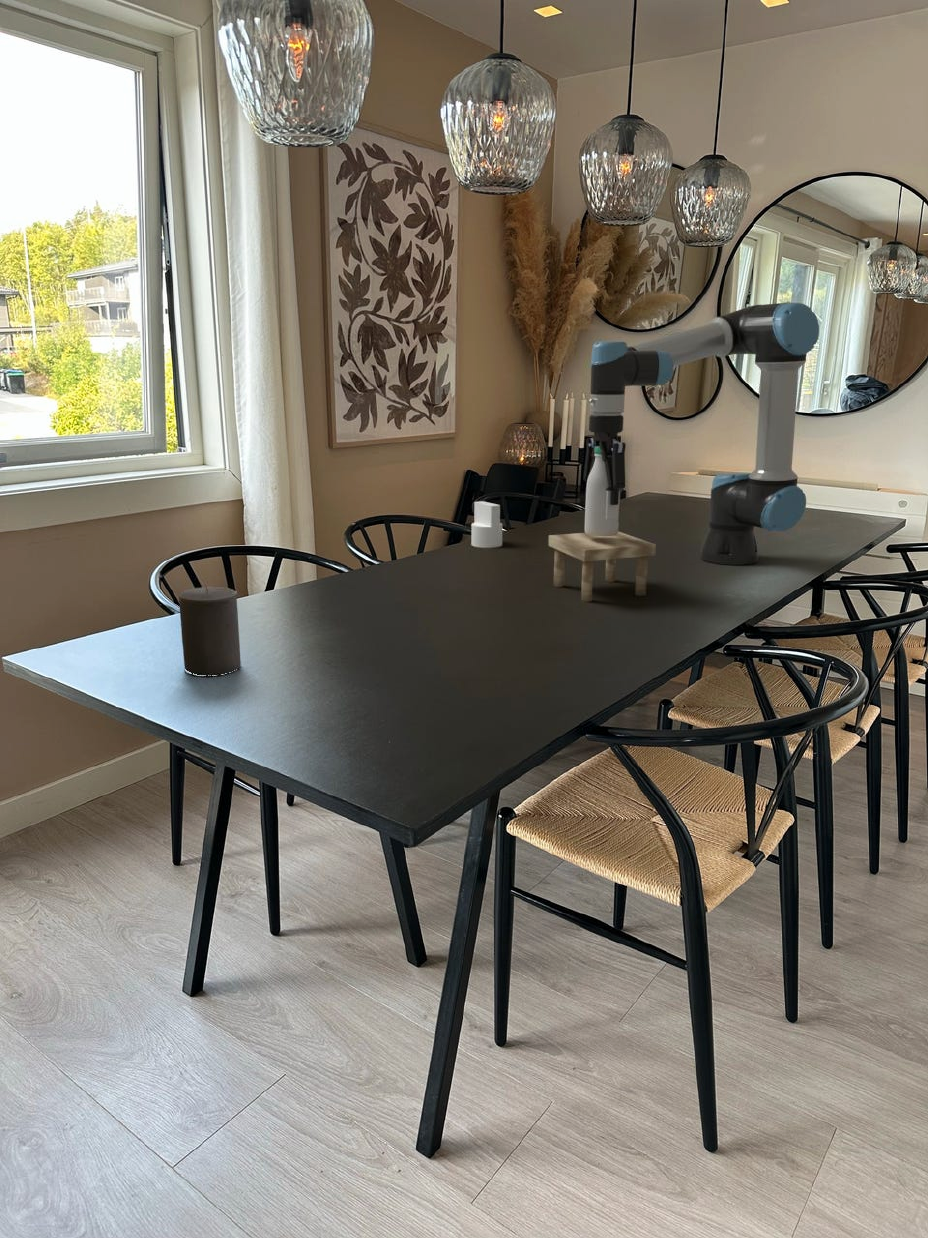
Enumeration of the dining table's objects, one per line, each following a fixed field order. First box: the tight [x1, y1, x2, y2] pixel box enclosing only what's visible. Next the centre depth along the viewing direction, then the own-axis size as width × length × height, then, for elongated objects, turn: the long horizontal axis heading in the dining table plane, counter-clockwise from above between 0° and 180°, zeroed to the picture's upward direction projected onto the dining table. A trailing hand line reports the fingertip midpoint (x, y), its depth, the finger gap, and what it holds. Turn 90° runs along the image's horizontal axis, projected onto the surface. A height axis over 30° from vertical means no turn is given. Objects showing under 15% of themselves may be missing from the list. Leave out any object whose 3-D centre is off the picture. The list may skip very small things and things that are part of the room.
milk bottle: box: [584, 446, 621, 536], centre depth 202 cm, size 8×8×20 cm
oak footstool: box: [548, 530, 657, 603], centre depth 207 cm, size 18×18×12 cm
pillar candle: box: [178, 585, 242, 676], centre depth 155 cm, size 10×10×15 cm
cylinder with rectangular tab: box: [470, 500, 503, 549], centre depth 257 cm, size 9×9×12 cm
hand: (602, 515), depth 204 cm, fingers closed on milk bottle, 8 cm apart
